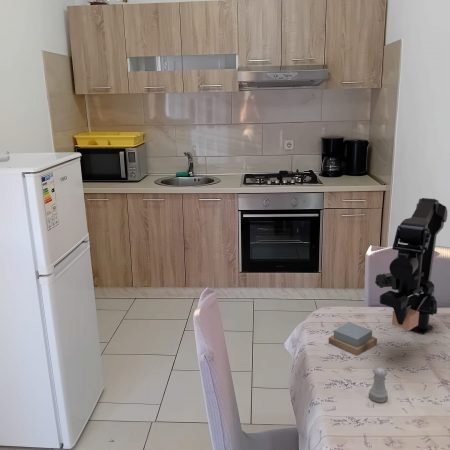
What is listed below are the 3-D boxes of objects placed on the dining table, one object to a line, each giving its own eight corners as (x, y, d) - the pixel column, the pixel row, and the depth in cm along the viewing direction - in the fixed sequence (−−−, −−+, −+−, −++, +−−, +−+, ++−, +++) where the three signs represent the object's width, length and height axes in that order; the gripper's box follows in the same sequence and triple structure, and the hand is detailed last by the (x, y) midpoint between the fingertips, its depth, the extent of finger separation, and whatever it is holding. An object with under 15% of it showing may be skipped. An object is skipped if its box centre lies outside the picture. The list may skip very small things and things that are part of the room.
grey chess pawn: (388, 404, 112) (391, 374, 110) (369, 402, 113) (371, 372, 111) (386, 393, 116) (388, 364, 114) (367, 391, 117) (369, 363, 115)
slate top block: (348, 329, 146) (348, 321, 145) (371, 338, 140) (372, 330, 139) (333, 337, 140) (333, 330, 140) (357, 347, 135) (357, 339, 134)
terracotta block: (401, 319, 134) (402, 306, 133) (418, 325, 130) (419, 311, 129) (391, 324, 131) (392, 311, 130) (408, 330, 127) (409, 317, 126)
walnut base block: (348, 334, 148) (348, 327, 147) (376, 346, 140) (377, 338, 139) (328, 344, 141) (328, 337, 141) (356, 357, 134) (357, 350, 133)
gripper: (400, 254, 138) (396, 303, 142) (363, 268, 126) (360, 321, 130) (437, 263, 130) (432, 315, 134) (402, 279, 118) (397, 336, 122)
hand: (405, 321), depth 130 cm, fingers closed on terracotta block, 5 cm apart
